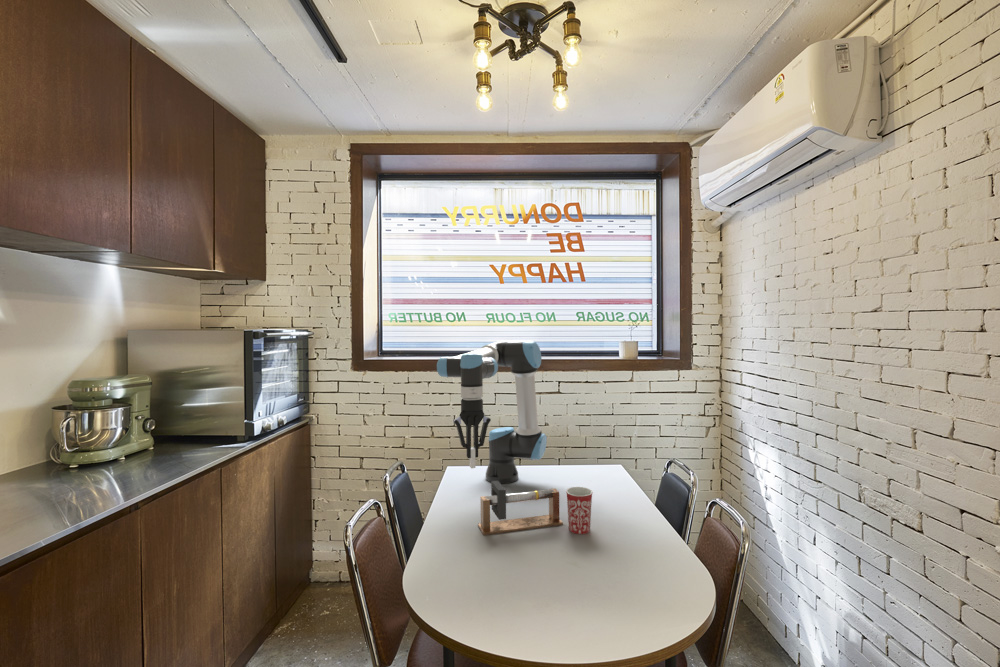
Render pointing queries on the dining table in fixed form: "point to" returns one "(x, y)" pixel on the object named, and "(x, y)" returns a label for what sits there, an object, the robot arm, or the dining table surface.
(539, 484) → the dining table surface
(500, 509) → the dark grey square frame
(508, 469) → the robot arm
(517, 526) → the pipe rig
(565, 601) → the dining table surface
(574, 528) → the mug
